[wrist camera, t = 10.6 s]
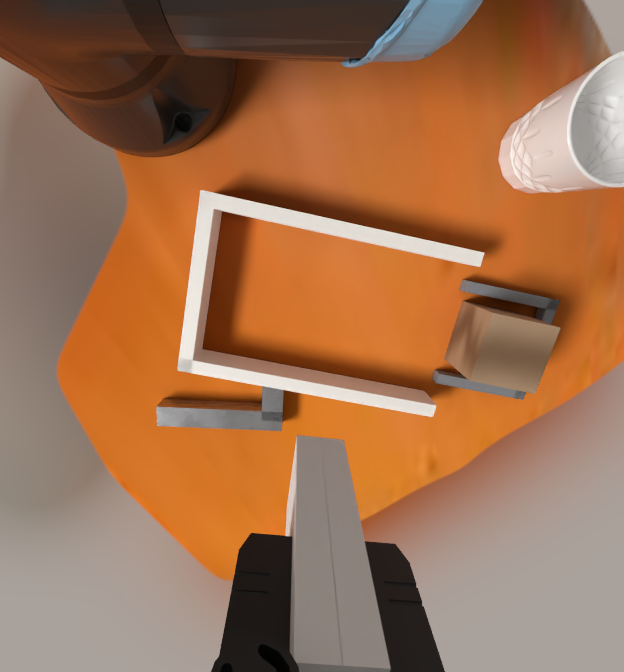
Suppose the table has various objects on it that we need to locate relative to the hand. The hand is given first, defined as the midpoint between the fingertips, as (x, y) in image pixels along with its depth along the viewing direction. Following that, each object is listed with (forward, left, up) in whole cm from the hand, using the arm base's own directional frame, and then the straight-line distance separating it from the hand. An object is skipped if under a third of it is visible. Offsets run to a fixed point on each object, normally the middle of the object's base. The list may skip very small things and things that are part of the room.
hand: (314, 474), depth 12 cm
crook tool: (+10, -6, -25) cm, 28 cm away
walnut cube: (-1, +18, -25) cm, 31 cm away
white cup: (-18, +17, -25) cm, 36 cm away
